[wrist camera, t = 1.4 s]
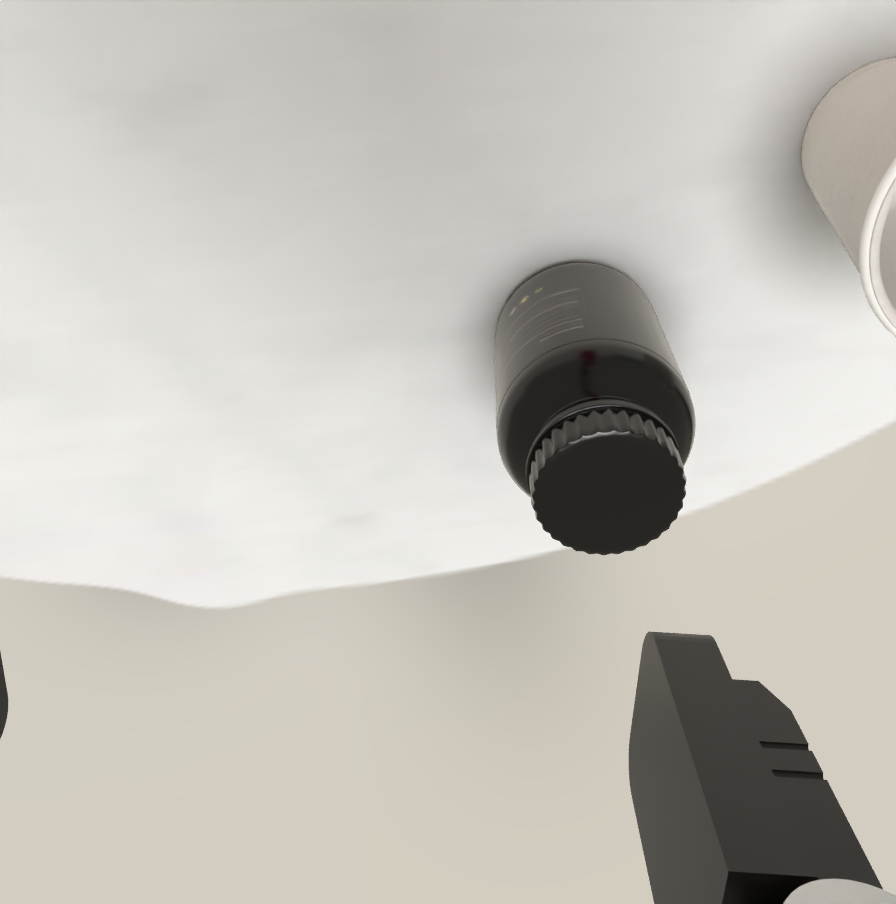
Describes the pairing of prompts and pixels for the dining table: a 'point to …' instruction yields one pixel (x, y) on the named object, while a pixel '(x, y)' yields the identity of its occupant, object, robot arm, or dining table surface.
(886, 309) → the dixie cup
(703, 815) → the robot arm
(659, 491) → the supplement bottle
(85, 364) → the dining table surface
